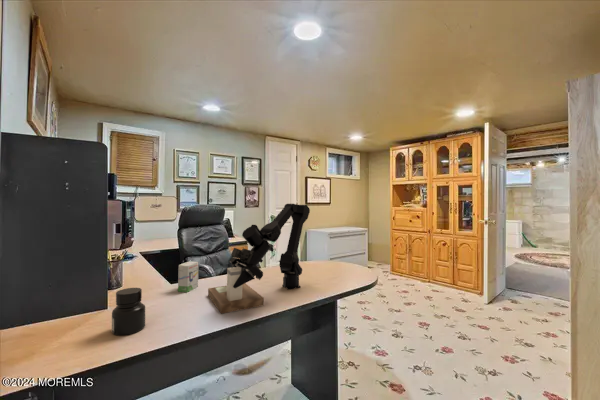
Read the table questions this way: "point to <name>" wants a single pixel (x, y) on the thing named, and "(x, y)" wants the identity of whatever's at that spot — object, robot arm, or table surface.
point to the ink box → (187, 276)
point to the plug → (231, 279)
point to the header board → (224, 306)
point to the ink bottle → (128, 312)
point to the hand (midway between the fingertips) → (231, 285)
